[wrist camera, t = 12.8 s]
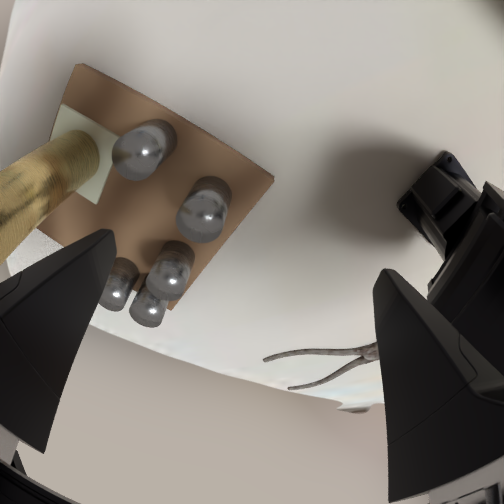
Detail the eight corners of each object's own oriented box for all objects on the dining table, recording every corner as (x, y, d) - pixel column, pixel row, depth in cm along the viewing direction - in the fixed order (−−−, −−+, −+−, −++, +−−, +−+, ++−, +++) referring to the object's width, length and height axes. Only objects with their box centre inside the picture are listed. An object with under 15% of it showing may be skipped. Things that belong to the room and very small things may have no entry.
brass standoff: (109, 154, 19) (-3, 250, 10) (83, 190, 21) (-10, 289, 12) (72, 118, 18) (-51, 192, 8) (50, 157, 20) (-53, 240, 10)
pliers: (251, 365, 35) (407, 300, 27) (252, 360, 36) (405, 294, 27) (293, 394, 39) (426, 342, 31) (293, 388, 40) (424, 337, 32)
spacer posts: (258, 179, 20) (254, 205, 17) (164, 303, 29) (152, 334, 25) (149, 111, 18) (123, 124, 14) (87, 258, 26) (68, 285, 23)
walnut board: (274, 176, 21) (273, 183, 20) (173, 303, 30) (170, 312, 29) (83, 63, 16) (73, 64, 15) (37, 219, 25) (30, 226, 24)
